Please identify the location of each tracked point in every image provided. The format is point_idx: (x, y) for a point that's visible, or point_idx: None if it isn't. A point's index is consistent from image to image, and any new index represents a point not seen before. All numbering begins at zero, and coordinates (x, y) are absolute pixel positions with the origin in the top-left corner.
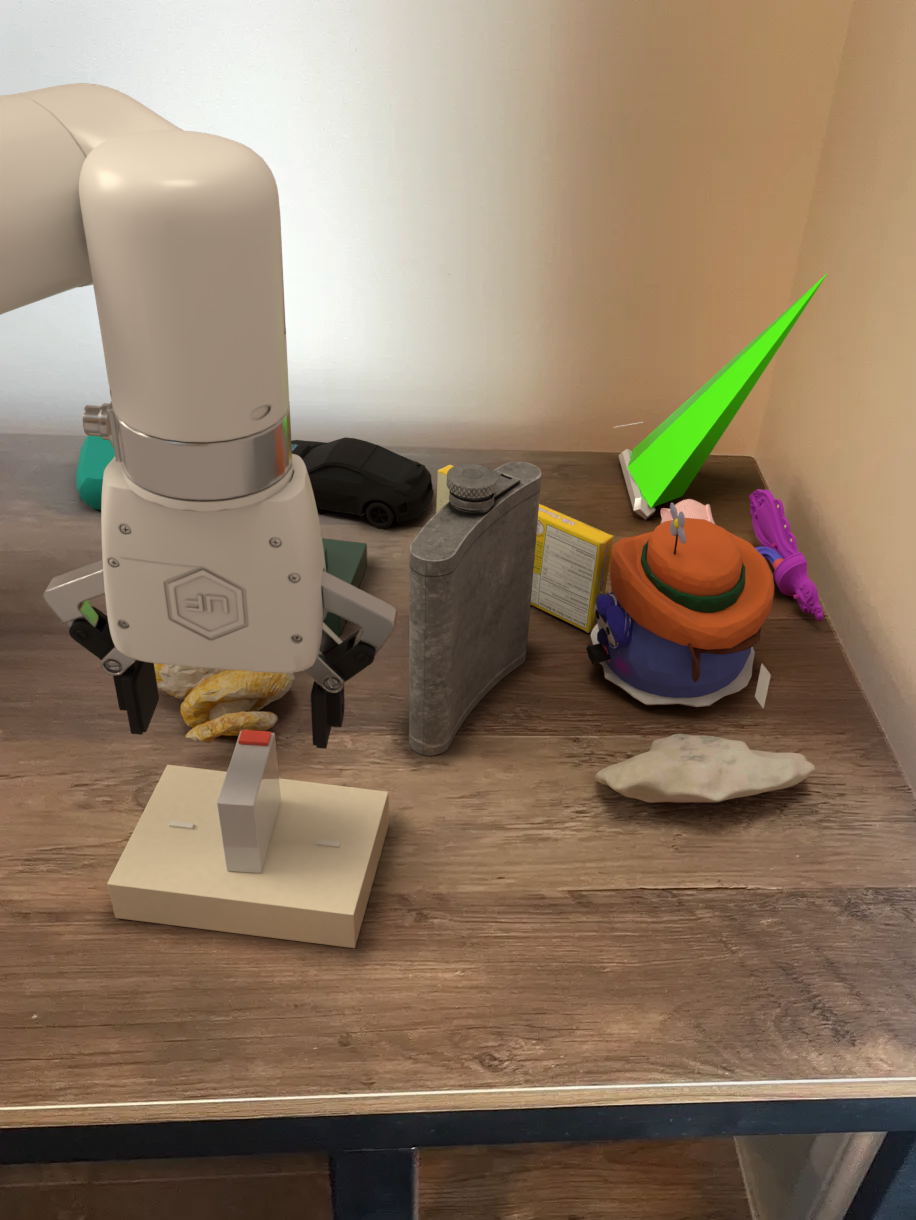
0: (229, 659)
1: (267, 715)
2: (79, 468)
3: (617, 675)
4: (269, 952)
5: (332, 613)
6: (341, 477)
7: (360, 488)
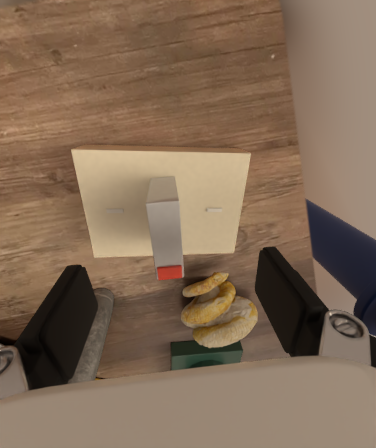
0: (132, 421)
1: (186, 294)
2: None
3: None
4: (138, 133)
5: (175, 355)
6: None
7: None
